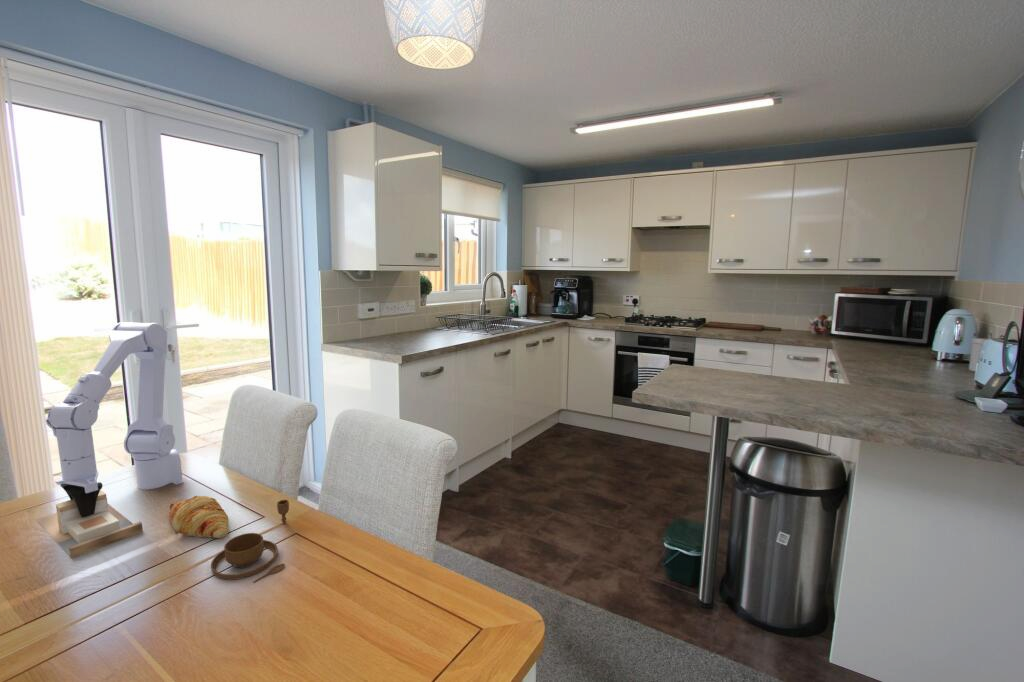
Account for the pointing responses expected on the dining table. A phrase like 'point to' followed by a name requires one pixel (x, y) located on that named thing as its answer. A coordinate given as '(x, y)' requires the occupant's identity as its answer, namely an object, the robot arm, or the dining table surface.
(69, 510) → the light wood block
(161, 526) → the dining table surface
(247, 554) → the place setting
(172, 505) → the croissant
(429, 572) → the dining table surface
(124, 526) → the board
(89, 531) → the tile
